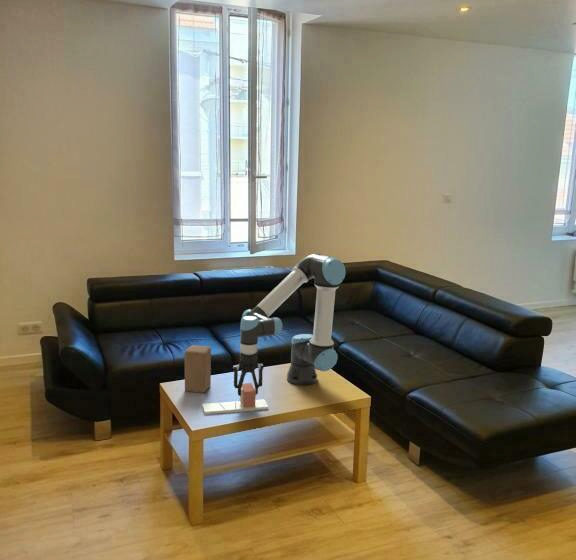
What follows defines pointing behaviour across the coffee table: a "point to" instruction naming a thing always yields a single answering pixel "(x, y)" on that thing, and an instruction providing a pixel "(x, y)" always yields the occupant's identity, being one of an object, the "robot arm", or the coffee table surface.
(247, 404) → the block
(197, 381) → the wooden block
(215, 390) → the coffee table surface
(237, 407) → the board
